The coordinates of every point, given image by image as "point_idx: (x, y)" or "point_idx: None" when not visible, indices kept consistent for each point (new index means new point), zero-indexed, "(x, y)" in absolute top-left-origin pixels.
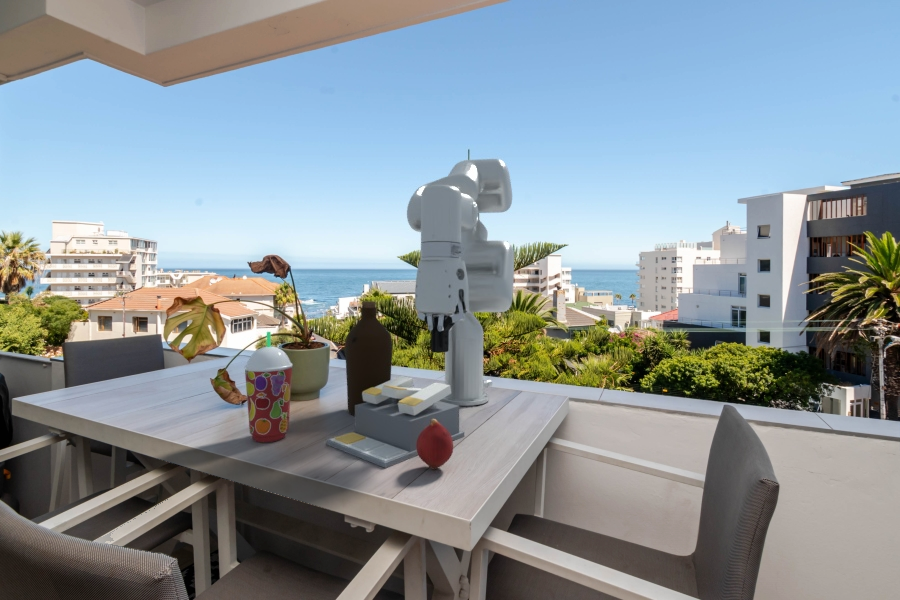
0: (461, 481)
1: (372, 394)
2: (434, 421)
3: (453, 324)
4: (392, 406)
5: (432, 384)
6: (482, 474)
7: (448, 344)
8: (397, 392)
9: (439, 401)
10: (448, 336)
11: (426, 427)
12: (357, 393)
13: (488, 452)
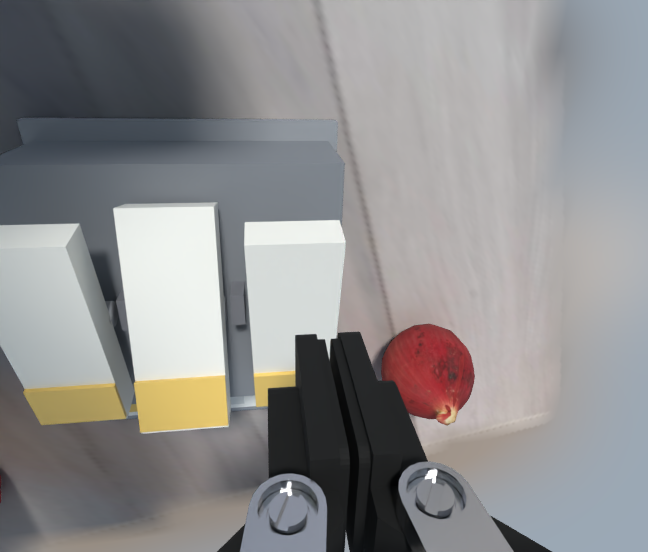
0: (485, 340)
1: (105, 417)
2: (454, 421)
3: (536, 547)
4: None
5: (252, 268)
6: (508, 293)
7: (396, 388)
8: (228, 413)
9: (231, 166)
10: (418, 440)
11: (424, 414)
12: None
13: (465, 182)
